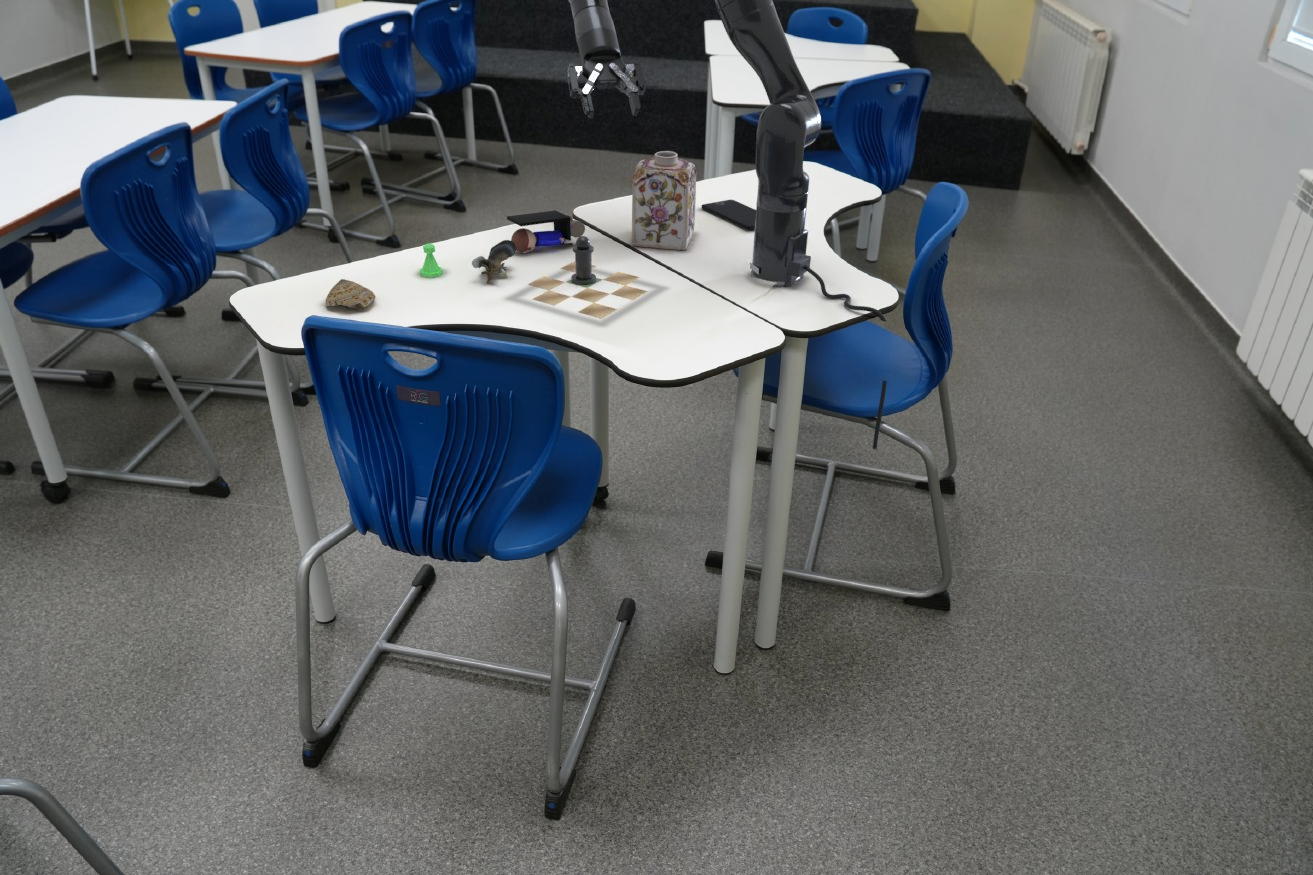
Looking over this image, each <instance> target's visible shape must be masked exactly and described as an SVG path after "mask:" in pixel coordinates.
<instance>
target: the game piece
mask: <svg viewBox="0 0 1313 875" xmlns="http://www.w3.org/2000/svg"><path fill="white" fill-rule="evenodd" d="M422 249H423V253H425V254H426V256H425V259H424V262H423V265H422V267H421V268H419V274H420V276H421V277H424V278H428V279H430V278H437V277H440V276H442V275H443V274H444V271H443V268H442V267H441V266H439V264H438V262H437V260H436V258H435V255H434V253H435V252H436V246H435V244H433V243H430V242H428V243H426V244H424V245H422Z"/></svg>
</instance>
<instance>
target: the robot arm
mask: <svg viewBox="0 0 1313 875" xmlns="http://www.w3.org/2000/svg"><path fill="white" fill-rule="evenodd" d="M567 1H568V3H569V5H570V11H571V14H572V19H573V23H574V33H575V41H576V44H577V47H578V52H579V57H580V61H581V66H580V65H579V66H578V65H576V64H575V63H573V62H570V63H569V64H568V67H567V72H566V77H567V83H568V91H569V96H570V98H571V99H572V100H576V99H579V100H580V101H581V106H582V110H583V113H584V115H585V116H587V118H588V119H593V118H594V116H595V115H594V114H595V109H594V104H593V99H592V96H591V94H592V92H593V91H594V89H595V88H596V89H598V90H605V89H609V90H614V89H615V88H616V89H617V90H618V91H619V92H620V93H623V94H625V95H626V96H627V97H628V103H629V106H630V111H631V115H632V116H633V117H637V116H638V114H639V113H640V110H641V108H642V107H641V106H642V105H641V101H640V97H643V96H644V95H645V91H646V89H647V83H646V78H645V76H644V73H643V69H642V65H641V63H640V61H638V60H634V61H633V63H628V64H626V63H625V62H624V61H623V58H622V54H621V49H620V45H619V40H618V36H617V31H616V28H615V24H614V21H613V18H612V15H611V12H610V8H609V4H608V0H567ZM714 3H715V7H716V10H717V13H718V15H719V18H720V20H721V23H722V25H723V28H724V30H725V32H726V35H727V37H728V38H729V41H730V42H731V44H732V45H733V47H734V48H735V49H736V50H737V52H738V53H739V54H740V55H741V57H742V58H743V59H744V60H745V61H746V63H748V65H749V66H750V67H751V68H752V70H753V71H754V72H755V73H756V75H757V77H758V78H759V80H760V82H761V83H762V86H763V89H764V90H765V93H766V96H767V99H768V102H769V105H767V106H766V107H765V108H764V109H763V110H762V112H761V113H760V116H759V118H758V122H757V127H756V138H755V162H754V163H755V166H754V168H755V174H756V177H757V180H758V181H757V197H756V208H755V210H756V220H755V230H754V233H753V245H752V246H753V248H752V260H751V262H750V263H749V269H750V277H751V278H755V279H760V280H763V281H766V282H772V283H774V284H773V287H788V288H791V287H792V286H794V285H795V284H797V283H798V282H800V281H801V280H802V279H803V278H804V276H805V274H806V273H807V272H808V274H810V275H812V276H813V277H814V278H815V279H816V281H818V283H819V285H820V290H821V293H822V295H823V296H824V297H825V298H827V299H830V300H836V299H837V300H838V299H845V300H844V301H843V305H844V307H845V308H846V309H848V310H851V311H862V312H869V313H873V314H874V315H876V316H877V317H878V318H879V320H880V321H881V322H887V319H886V317H885V316H884V314H883V313H882V312H881V311H880V310H879V309H876V308H875V307H871V306H864V305H853V304H850V302H851V300H852V297H851V296H850V295H849V294H847V293H838V294H837V293H836V294H831V293H829V292H828V291H827V289H826V284H825V281H824V280H823V278H822V277H821V276H820V275H819V274H818V273H817V272H816V271H815V270H813V269H812V268H811V261H812V255H807V247H808V245H807V244H808V236H809V230H808V229H805V228H806V227H805V226H806V216H807V206H808V196H809V189H810V176H809V174H808V173H807V172H806V171H804V154H805V153H804V152H805V148H806V147H808V146H810V145H811V144H813V143H814V142H815V141H816V140H817V138H818V137H819V135H820V133H821V129H822V116H821V112H820V109H819V107H818V104H817V102H816V100H815V99H814V98H815V97H814V96H813V94H812V92H811V91H810V89H809V86H808V85H807V83H806V80H805V78H804V76H803V75H802V73H801V71H800V69H799V67H798V64H797V63H796V60H795V57H794V55H793V52H792V50H791V46H790V44H789V42H788V39H787V36H786V33H785V31H784V28H783V26H782V23H781V21H780V18H779V16H778V13H777V10H776V7H775V4H774V2H773V0H714ZM625 73H628V75H629V76H630V77H629V76H628V75H627V74H625ZM580 75H581V76H582V77H584V78H585V80H587V81H586V83H585V85H584V87H583V88H580V87H579V82H578V79H579V78H580ZM630 78H632V80H633V82H632V81H631V79H630ZM639 96H640V97H639ZM887 384H888V381H887V380H882V382H881V392H880V399H879V404H878V408H877V416H876V422H875V428H874V435H873V441H872V449H873V450H877V449H878V442H879V436H880V435H879V434H880V428H881V423H882V416H883V410H884V405H885V399H886V391H887Z"/></svg>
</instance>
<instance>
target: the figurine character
mask: <svg viewBox="0 0 1313 875" xmlns="http://www.w3.org/2000/svg"><path fill="white" fill-rule="evenodd" d="M506 220H507V221H509V222H511V223H513V224H515V225H517V226H519V227H525V228H518V229H517V230H515V231H514V232H513V234H512V235H511V238H510V241H511V240H512V242H514V243H515V246H516V247H517V248H516V252H518V253H520V254H528V253H530V252H532V251H533V250H534V249H535V247H536V248H542V247H553V246H561V247H567V246H574V243H573V242H570V241H572V238H574V239H578V238H579V237H581V236H584V235H585V231H586V225H585V223H584V222H582V221H581V220H578V219H573V217H572V216H570V215H569V214H566V213H562V212H560V211H558V210H555V209H554V210H548V211H540V212H531V213H523V214H514V215H507V216H506ZM550 223H553V230H540V231H532V230H530V229H528V228H526V227H527V226H536V225H543V224H550ZM567 241H569V242H567ZM565 242H566V243H565Z"/></svg>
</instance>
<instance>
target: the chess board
mask: <svg viewBox="0 0 1313 875" xmlns="http://www.w3.org/2000/svg"><path fill="white" fill-rule="evenodd" d="M596 267H597V266H596V265H593V264H592V269H594V268H596ZM560 270H564V271H567V272H568V271H569V272H572V273H576V271H575V260H574V261H572V262H570V263H568V264H566V265H564V266H562V267H560ZM640 278H641V277H640V276H636V275H633V274H629V273H626V272H625V273H624V272H620V271H617V272H615V273H613V274H611V275H609V276H607V277H606V278H603V279H602V278H598V277H596V282H595V283H593V284H589V285H578V284H575V283H573V282H572V281H571V279H569V280H567V281H566V283H568V284H571V285H575V286H577V287H578V286H579V287H582V288H585V289H583V290H581V291H579V292H577V293H576V294H574V295H572V296H570V295H567V294H563V293H560V292H556V291H553V289H554V288H557V287H558V286H561V285H562V284H564V283H565V281H563V280H559V279H555V278H551V277H548V276H544V275H543V276H542V277H539V278H538V279H536V280H533V281H531V282H530V283H528V284H527V285H528V286H532V287H536V288H539V289H542V290H546V292H543V293H541V294H539V295H537V296H535V297H534V298H532V300H534V301H537V302H540V303H544V304H547V305H551V306H557V305H558V304H560V303H562V302H564V301H566V300H568V299H569V298H571V297H572V298H575V299H578V300H583V301H586V302H590V303H591V304H589V305H588V306H586V307H584V308H582V309H580V310H579V311H578V313H580V314H582V315H583V314H584V315H586V316H590V317H594V318H597V319H601V320H602V319H603V318H605V317H607V316H609V315H611V314H612V313H614V312H616V311H617V310H618V308H614V307H611V306H607V305H604V304H600V303H597V302H599V301H600V300H602V299H604V298H606V297H608V296H609V295H613V296H616V297H620V298H624V299H628V300H631V301H634V300H636V299H638V298H640V297H641V296H644V295H645V294H646V293H648V292H649V290H646V289H645V290H644V289H641V288H637V287H632V286H630V285H628V284H631V283H632V282H635V281H636V280H638V279H640ZM602 281H606V282H610V283H615V284H619V285H621V286H622V287H620V288H618V289H616V290H615V291H613V292H610V293H608V292H604V291H601V290H598V289H593V288H590V287H592V286H594V285H596V284H597V283H599V282H602Z"/></svg>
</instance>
